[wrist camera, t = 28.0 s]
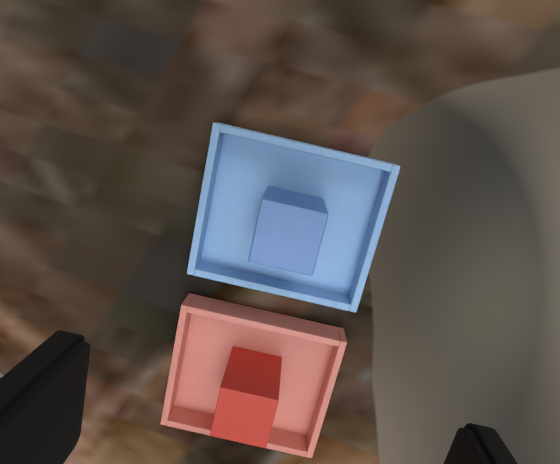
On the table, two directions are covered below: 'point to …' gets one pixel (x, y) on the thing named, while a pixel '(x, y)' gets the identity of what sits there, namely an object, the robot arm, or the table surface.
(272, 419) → the red block
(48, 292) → the table surface
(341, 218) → the blue tray
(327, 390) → the rose tray
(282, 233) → the blue block
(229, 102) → the table surface
